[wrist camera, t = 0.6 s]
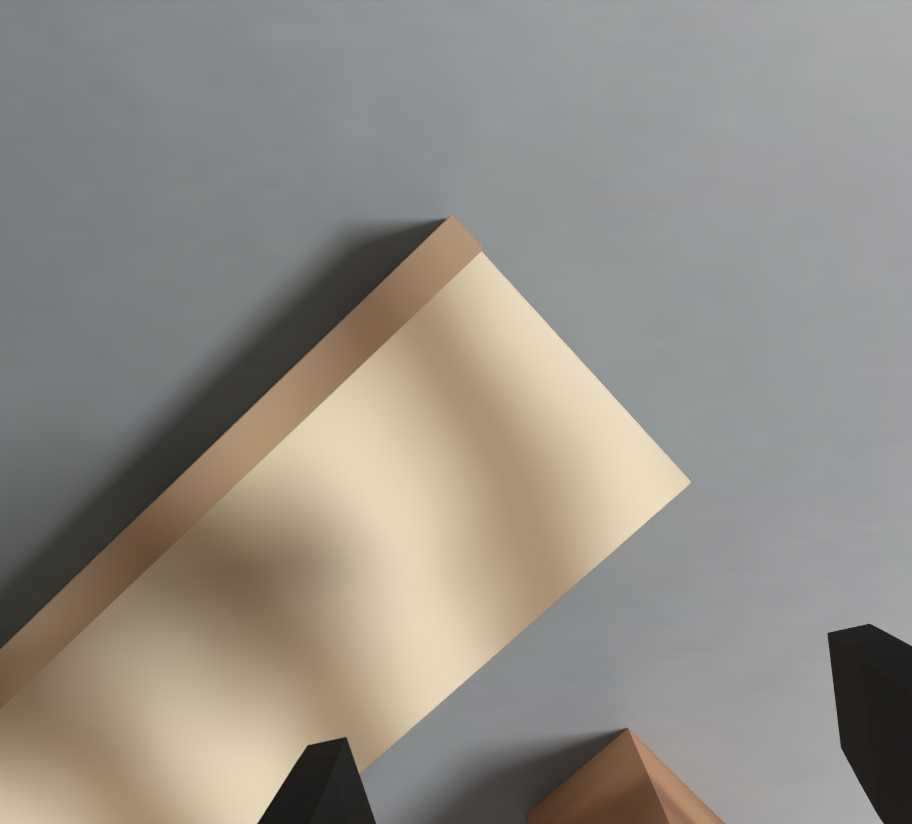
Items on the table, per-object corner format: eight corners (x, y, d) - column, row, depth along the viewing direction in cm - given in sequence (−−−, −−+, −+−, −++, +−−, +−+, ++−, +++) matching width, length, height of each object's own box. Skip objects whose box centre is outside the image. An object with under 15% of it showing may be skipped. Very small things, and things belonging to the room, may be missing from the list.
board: (116, 963, 24) (79, 1052, 21) (-131, 774, 22) (-203, 846, 20) (676, 469, 22) (712, 500, 19) (447, 218, 20) (452, 214, 17)
